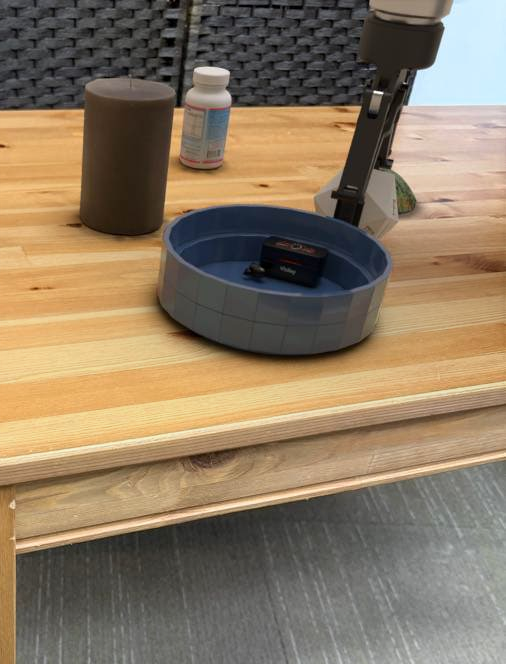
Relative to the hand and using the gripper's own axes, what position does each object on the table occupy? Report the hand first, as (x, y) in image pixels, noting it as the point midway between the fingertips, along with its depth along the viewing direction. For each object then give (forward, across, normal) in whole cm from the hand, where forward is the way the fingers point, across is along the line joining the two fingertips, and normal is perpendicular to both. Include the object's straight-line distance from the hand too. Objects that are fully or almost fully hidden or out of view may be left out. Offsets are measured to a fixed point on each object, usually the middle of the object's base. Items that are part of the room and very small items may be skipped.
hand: (346, 243), depth 92 cm
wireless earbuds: (0, +14, -4) cm, 15 cm away
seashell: (0, -17, 0) cm, 17 cm away
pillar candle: (0, +7, -25) cm, 26 cm away
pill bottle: (0, -18, -24) cm, 30 cm away
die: (0, 0, 0) cm, 0 cm away
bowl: (0, +20, -4) cm, 20 cm away
